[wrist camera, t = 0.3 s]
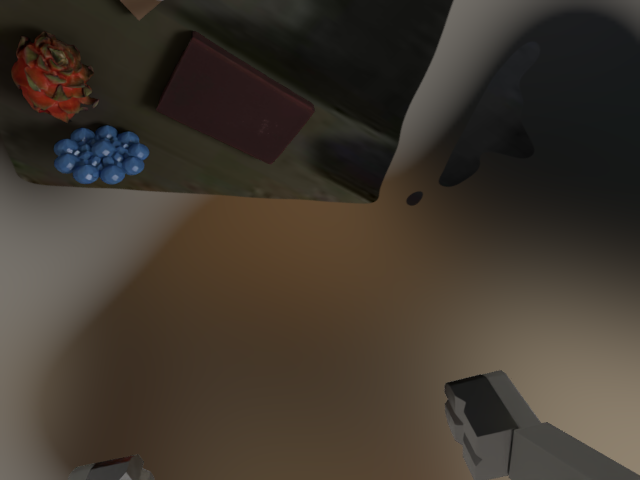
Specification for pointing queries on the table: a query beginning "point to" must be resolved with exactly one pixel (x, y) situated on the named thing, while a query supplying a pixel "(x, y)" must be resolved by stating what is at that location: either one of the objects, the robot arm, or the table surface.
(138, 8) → the pin seat
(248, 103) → the book
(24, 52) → the dragon fruit
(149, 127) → the table surface
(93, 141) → the grapes
